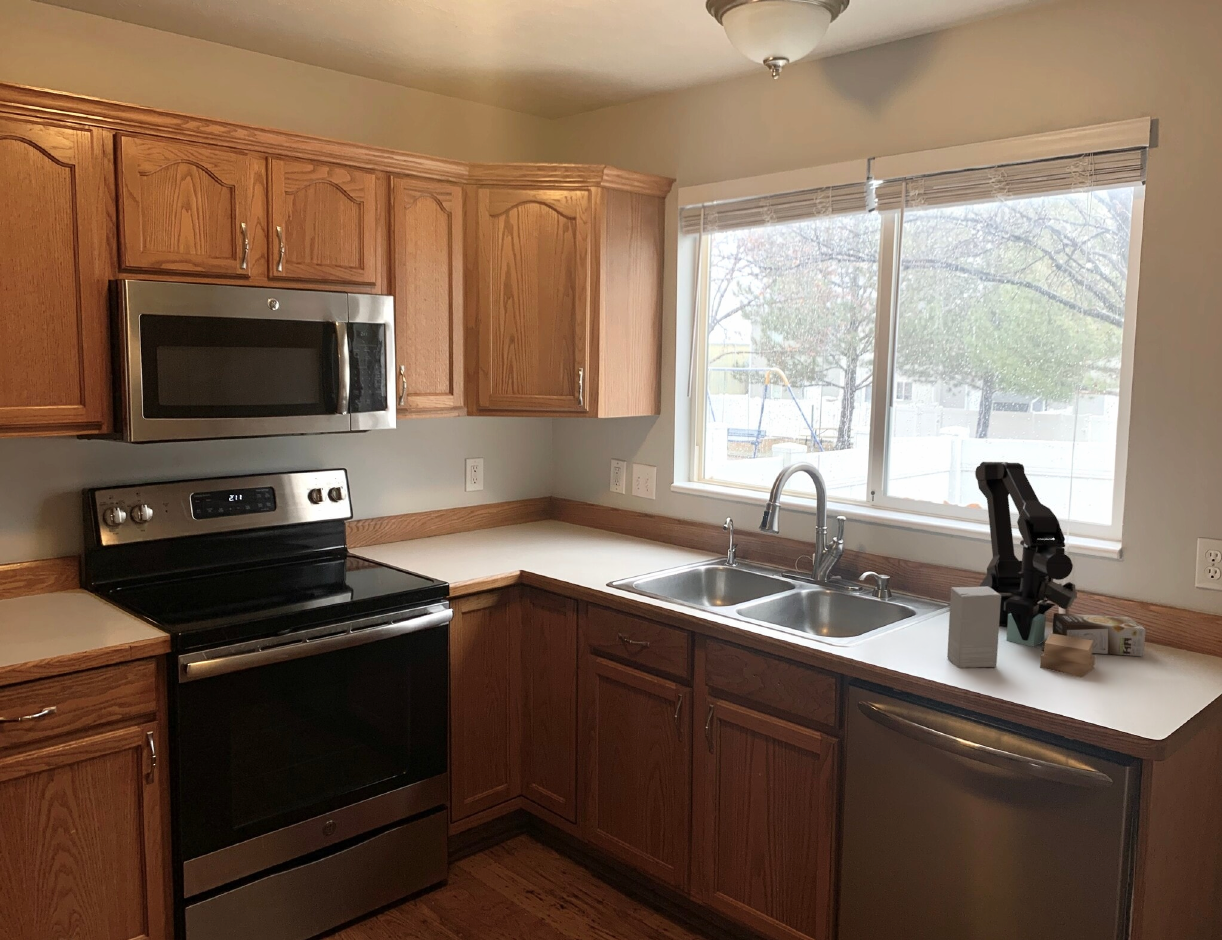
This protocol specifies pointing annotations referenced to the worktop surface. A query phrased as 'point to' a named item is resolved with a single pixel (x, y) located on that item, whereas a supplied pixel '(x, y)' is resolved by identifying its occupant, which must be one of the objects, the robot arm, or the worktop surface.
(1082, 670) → the tower base
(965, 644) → the skincare box
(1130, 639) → the coffee box
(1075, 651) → the tower top
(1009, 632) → the teal cube
